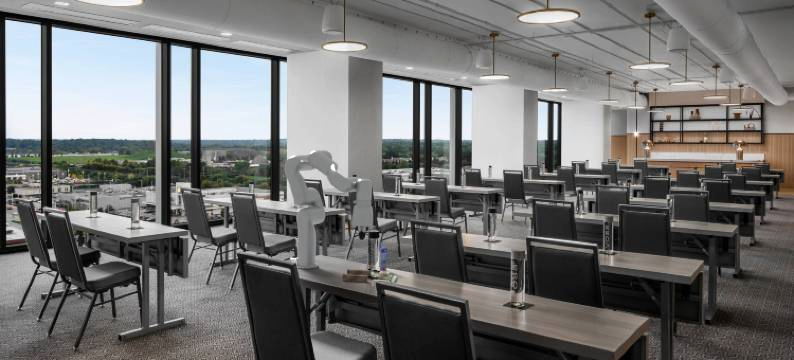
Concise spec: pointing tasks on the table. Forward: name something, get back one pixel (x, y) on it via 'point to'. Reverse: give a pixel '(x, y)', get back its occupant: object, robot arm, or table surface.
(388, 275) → the birch block
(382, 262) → the ink cartridge box
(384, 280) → the frame
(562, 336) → the table surface
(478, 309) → the table surface
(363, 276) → the corridor
